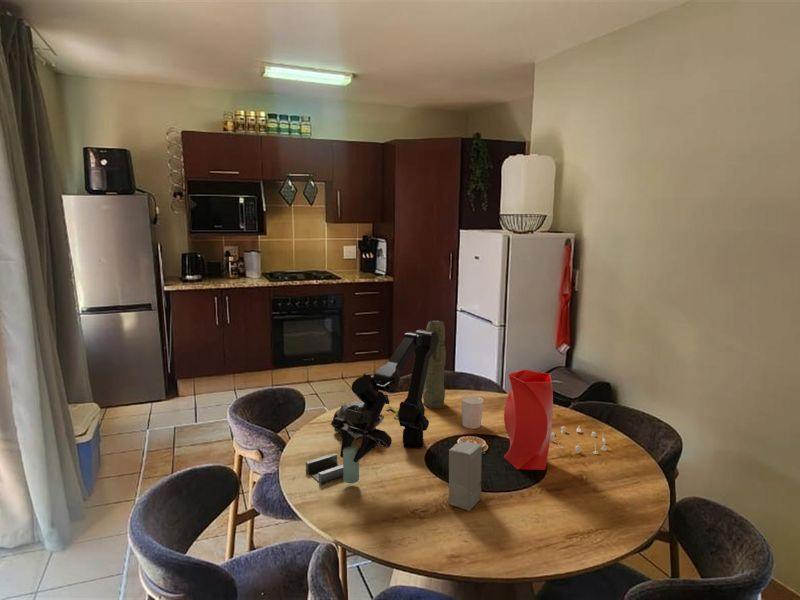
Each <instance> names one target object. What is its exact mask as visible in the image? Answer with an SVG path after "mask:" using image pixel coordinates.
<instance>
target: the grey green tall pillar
mask: <svg viewBox="0 0 800 600" xmlns="http://www.w3.org/2000/svg"><path fill="white" fill-rule="evenodd" d="M425 329H426V330H427V331H433V332H436V333H437V336H438V337H439V342H438V345H437V348H436V351H435V352H434V353H433V354H432V356H431V357H430V359H429V364H428V369H427V374H426V380H425V385H424V390H423V396H422V400H423V401H422V402H423V405H424V407H426V408H430V409H440V408H442V407H444V406H445V398H446V397H445V395H446V389H445V385H444V384H445V365H446V364H447V363H446V362H447V361H446V360H447V359H446V358H447V350H446V346H445V341H446V327H445V323H444V321H442V320H439V319H438V320H437V319H432V320H430V321H428V322H427V325H426V328H425Z"/></svg>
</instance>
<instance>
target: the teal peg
mask: <svg viewBox="0 0 800 600" xmlns="http://www.w3.org/2000/svg"><path fill="white" fill-rule="evenodd" d="M358 449H359V447H357V446H353V445H351V446H349V447H345V448H344V449H343V458H342V465H343V478H342V481H343V482H344V483H346V484H355V483H357V482H359V480H360V460H359V461H357V462H354V458H355V455H356V453H357V451H358Z"/></svg>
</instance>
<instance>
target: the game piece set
mask: <svg viewBox="0 0 800 600" xmlns="http://www.w3.org/2000/svg"><path fill="white" fill-rule="evenodd" d="M560 429H561V430H560V432H561V433H562V434H564V433H567V432H566V429H567V427H566V426H560ZM576 433H582V429H581V426H580V425H578V427H577V428H576ZM601 435H602V437H601V440H602V443H603V445H600V450H601V451H605V452H606V451H608V450H609V447H606V444H607V440H606V438H605V435H604V433H602V434H601ZM555 436H556V433H555V431H554V430H553V431H551V436H550V442H554V438H555ZM591 437H592V438H596V437H597V433H596V431H593V430H592V432H591ZM596 444H597V443H595V442H594V451H592V454H594V455H599V451H597V449H596V446H597V445H596ZM557 445H558V446H559V448H558V449H560V450H563V449H564V447H563V446H561V445H560V444H559V443H557ZM581 450H582V447H581V446H580V445H576V446H575V453H576V454H580V451H581Z"/></svg>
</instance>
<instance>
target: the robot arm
mask: <svg viewBox="0 0 800 600" xmlns="http://www.w3.org/2000/svg"><path fill="white" fill-rule="evenodd" d="M438 342H439V337H438V336H437V333H436V332H433V331H427V330H425V329H417V330H416V331H410V332H405V333H404V335H403V339H402V341H401V342H400V343H399V345H398V347H396V350H395V351H394V353H393V354H392V355H391V357H390V359H389V361H387V363H386V364H384V365H382V366H380V367H379V368H378V369H377V370H376V372H375V373H374V374H373V375H371V374H369V373H363V375H362V376H359V377H358V378H356V379H355V380H354V381H353V382H352V384H351V391H352V393H354V395H355V396H357V398H358V399H359V401H360V402H364V404H363V406H362V408H361V407H359V408H358V409H357V411H354V410H349V409H347V410H346V413H345V417H344V419H342V418H338V417H336V418H334V419H333V418H332V420H331V423H330V426H332V428H333V429H334V428H335V429H336V430H337V431H338V432H340V433H341V434H342V437H341V446H340V447H341V448H340V453H339V454H340V458H341V459H343V449H344V448H345V447H349V446H353V443H354V442H355V440H356V439H355V438H354V437H353V436H352V435H353V433H356V434H359V435H362V436H361V443H360V445H359V447H358V448H359V449H358V451H357V453H356V455H355V458H354V462H357V461H359V462H360V460H361V459H362V458H364V457H365V456H366V455H367V454H368V453H369V452H371V451H372V450H373V449H375V448H379V445H380V446H382V447H385V448H388V449H389V448H390V447H391V444H392V437H391V436H390V435H389V433H387V431H385V430H383V429H379V428H377V427H376V428H375V429H374V426H375V424H376V422H379V421H380V418H379V416H380V413H382V412H383V409H384V407H385V405H390V399H389V395H388V393H390V394H392V393H394V392H395V391H396V390H398V389H397V388H398V387H399V384H400V382H401V374H402V371H403V370H404V368H405V366H406V364H407V363H408V361H409V360H410V358H411V357H412V355H413V353H414V360H413V367H412V371H411V375H410V382H409V387H408V392H407V397H406V398H405V399H404V400H403V401H401V402H399V408H398V410H399V411H398V416H397V417H398V419H399V420H398V423H399V427H404V428H402V444H403V448H409V449H410V448H411V449H413V448H414V449H423V448H424V432H425V431H427V430H428V428H429V425H430V421H429V419H428V418H427V417H426V416H425V413H426V412H425V411H426V409H425V406H424V405H423V402H424V401H423V390H424V385H425V380H426V374H427V369H428V364H429V359H430V357H431V356H432V354H433V353H434V352H435V351H436V348H437V345H438ZM384 393H385V394H384ZM386 393H387V394H386ZM347 420H348V421H350V422H351V423H352V424H353V425H351V424H350V423H348V422H347ZM373 429H374V430H373ZM357 430H358V431H357ZM338 432H337V433H338ZM363 432H365V433H363Z"/></svg>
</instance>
